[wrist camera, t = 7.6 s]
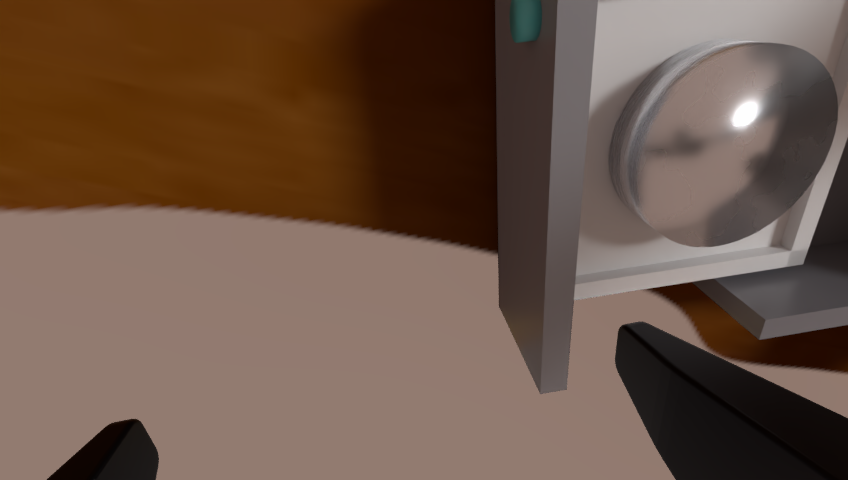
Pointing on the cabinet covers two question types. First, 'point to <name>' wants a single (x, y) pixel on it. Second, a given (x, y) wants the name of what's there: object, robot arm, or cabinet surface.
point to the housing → (796, 278)
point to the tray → (590, 148)
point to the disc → (723, 139)
